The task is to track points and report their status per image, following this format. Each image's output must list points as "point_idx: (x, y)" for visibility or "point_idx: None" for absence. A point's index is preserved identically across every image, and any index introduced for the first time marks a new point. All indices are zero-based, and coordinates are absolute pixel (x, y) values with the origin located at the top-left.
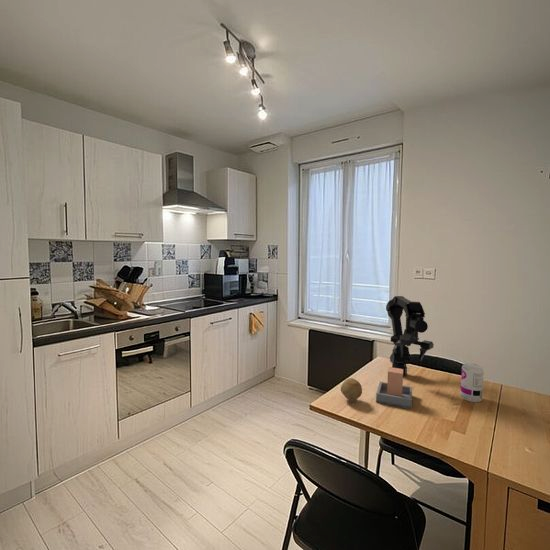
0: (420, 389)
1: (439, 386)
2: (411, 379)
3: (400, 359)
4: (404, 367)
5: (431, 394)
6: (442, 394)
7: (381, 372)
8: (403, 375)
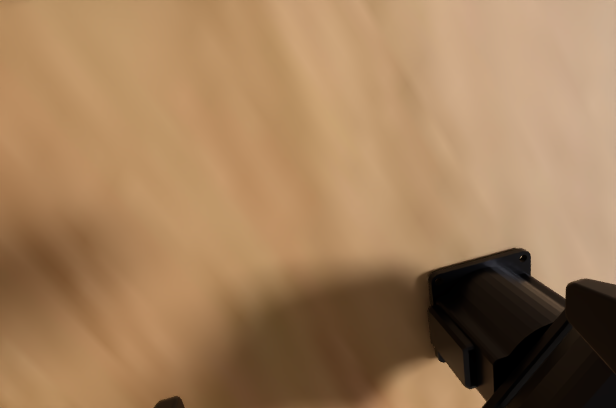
0: (179, 198)
1: (147, 389)
2: (358, 305)
3: (563, 361)
4: (471, 352)
5: (48, 192)
6: (6, 280)
7: (584, 206)
8: (432, 299)
